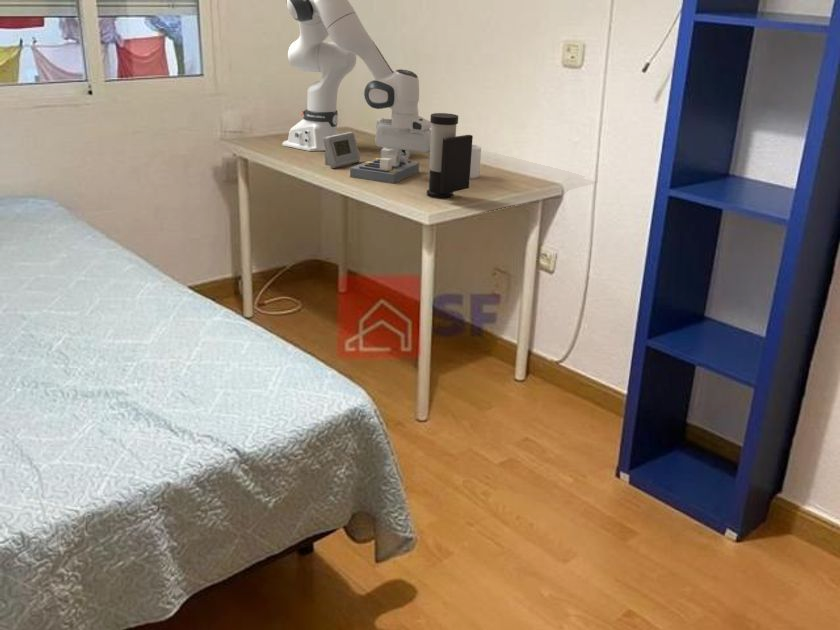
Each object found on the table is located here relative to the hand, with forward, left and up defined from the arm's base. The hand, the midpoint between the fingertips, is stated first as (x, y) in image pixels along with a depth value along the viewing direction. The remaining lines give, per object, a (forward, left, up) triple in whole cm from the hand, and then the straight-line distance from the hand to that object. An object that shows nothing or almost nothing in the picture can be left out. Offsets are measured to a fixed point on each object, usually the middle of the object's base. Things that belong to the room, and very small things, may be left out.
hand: (403, 162), depth 275 cm
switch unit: (-6, 0, -5) cm, 8 cm away
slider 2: (-3, -7, -1) cm, 8 cm away
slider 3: (-3, 0, -1) cm, 4 cm away
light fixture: (+22, -17, -5) cm, 28 cm away
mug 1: (-16, +28, -5) cm, 33 cm away
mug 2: (+17, +14, -5) cm, 22 cm away
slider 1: (-9, +7, -1) cm, 11 cm away
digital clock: (-26, +4, -5) cm, 26 cm away
